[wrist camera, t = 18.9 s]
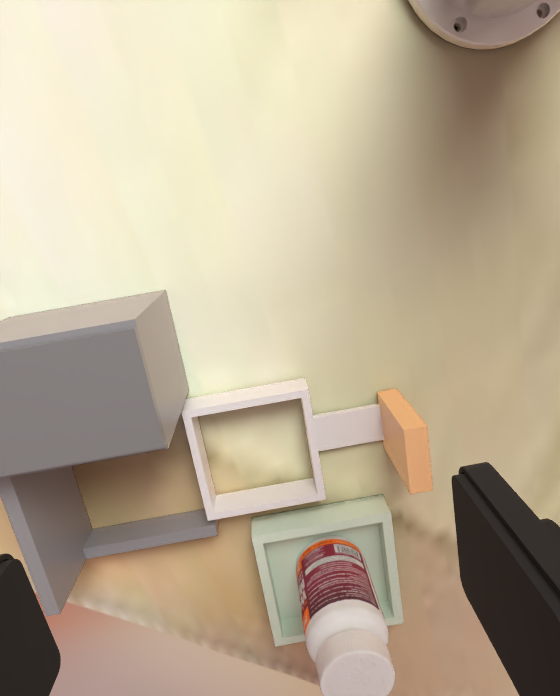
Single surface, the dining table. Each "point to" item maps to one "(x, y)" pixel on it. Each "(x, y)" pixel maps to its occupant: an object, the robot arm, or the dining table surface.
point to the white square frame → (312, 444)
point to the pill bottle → (343, 620)
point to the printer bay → (85, 428)
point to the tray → (313, 523)
